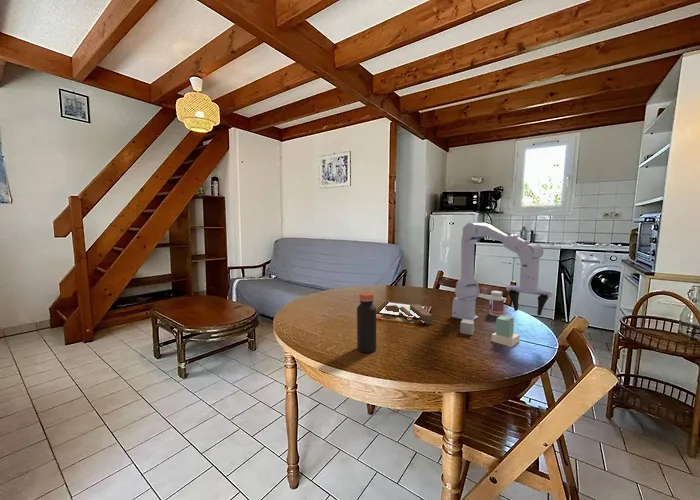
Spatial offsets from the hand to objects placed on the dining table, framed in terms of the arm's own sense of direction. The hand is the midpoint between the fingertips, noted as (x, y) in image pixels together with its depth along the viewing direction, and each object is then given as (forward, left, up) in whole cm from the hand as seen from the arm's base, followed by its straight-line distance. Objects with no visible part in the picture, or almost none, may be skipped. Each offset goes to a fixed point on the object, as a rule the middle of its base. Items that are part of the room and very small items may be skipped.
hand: (527, 312), depth 109 cm
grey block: (-19, -8, -10) cm, 23 cm away
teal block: (-5, -7, -8) cm, 12 cm away
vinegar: (-37, -48, -11) cm, 62 cm away
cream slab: (-5, -7, -11) cm, 14 cm away
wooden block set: (-46, -11, -11) cm, 48 cm away
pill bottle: (-19, +23, -11) cm, 32 cm away
